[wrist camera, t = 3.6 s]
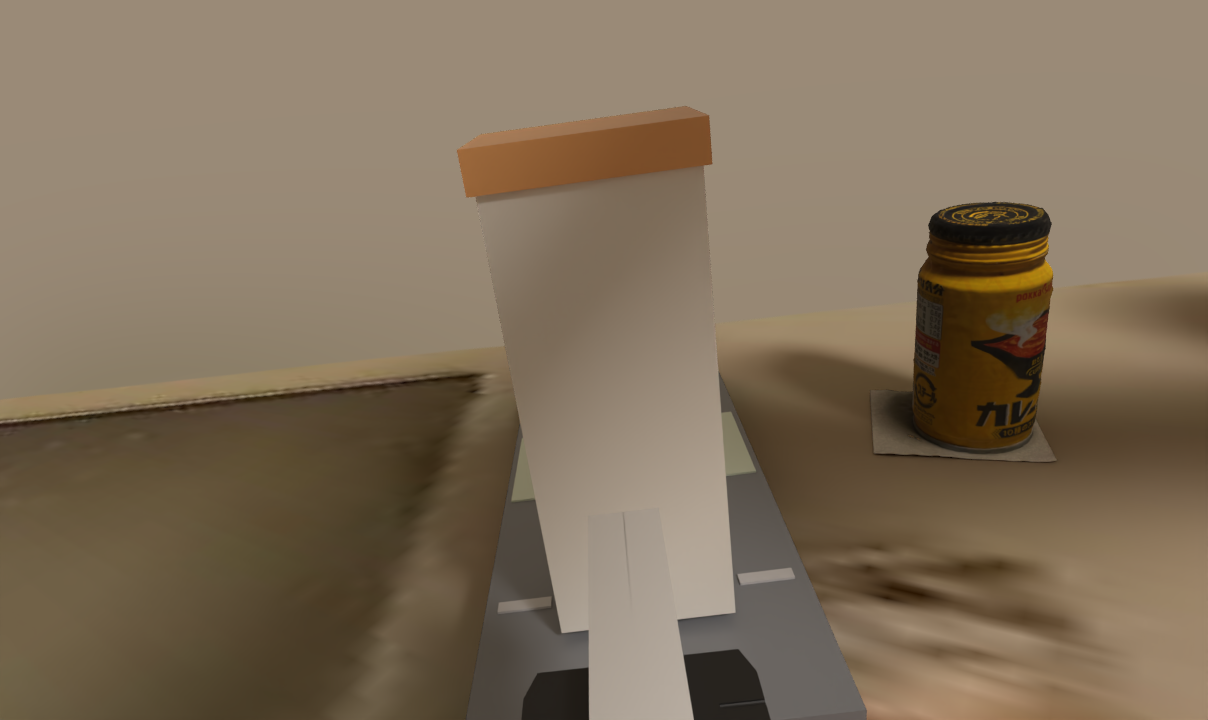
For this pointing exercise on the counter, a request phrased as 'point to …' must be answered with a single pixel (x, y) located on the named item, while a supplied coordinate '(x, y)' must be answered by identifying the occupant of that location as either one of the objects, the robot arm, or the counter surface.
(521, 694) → the console
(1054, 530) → the counter surface
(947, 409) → the condiment
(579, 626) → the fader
